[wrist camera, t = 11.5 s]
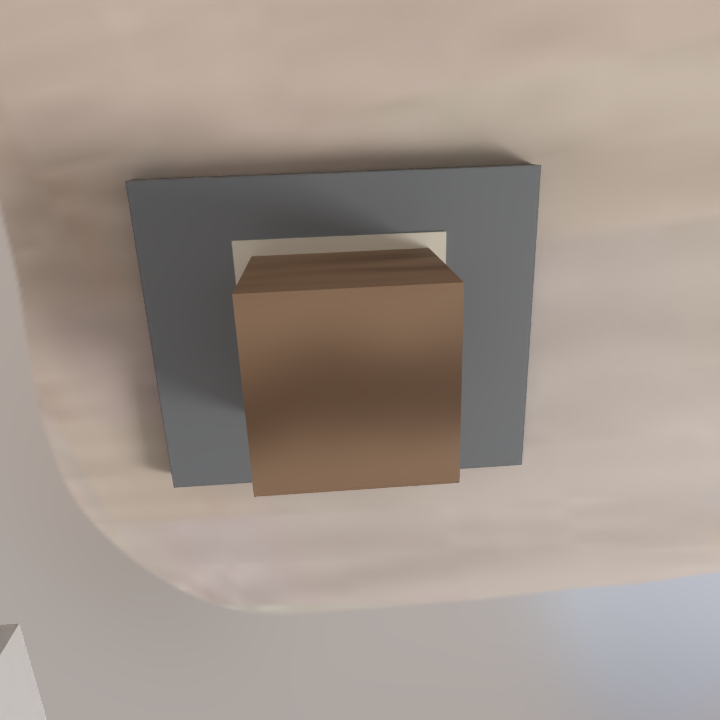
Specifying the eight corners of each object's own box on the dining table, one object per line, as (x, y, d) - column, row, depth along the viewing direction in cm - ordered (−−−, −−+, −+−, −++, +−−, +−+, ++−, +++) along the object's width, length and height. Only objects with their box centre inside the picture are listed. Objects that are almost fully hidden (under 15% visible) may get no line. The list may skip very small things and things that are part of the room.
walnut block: (251, 256, 28) (231, 293, 21) (428, 248, 28) (463, 282, 21) (267, 418, 30) (254, 496, 24) (428, 408, 31) (459, 482, 24)
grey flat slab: (133, 179, 27) (124, 181, 26) (532, 164, 28) (541, 165, 27) (178, 475, 33) (173, 488, 31) (514, 453, 34) (522, 465, 32)
